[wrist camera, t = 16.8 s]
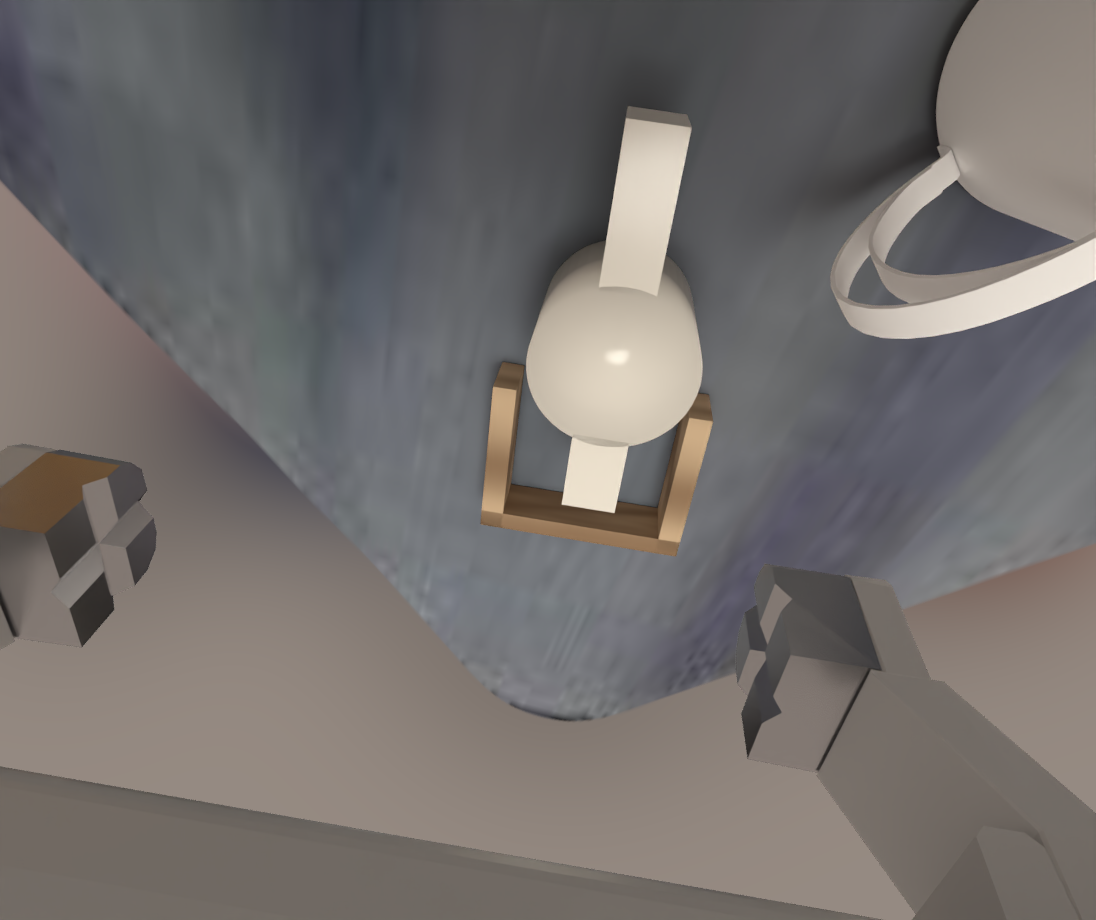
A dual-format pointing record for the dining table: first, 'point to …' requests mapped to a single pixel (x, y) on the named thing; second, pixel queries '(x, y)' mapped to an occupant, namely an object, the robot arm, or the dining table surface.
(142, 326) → the dining table surface
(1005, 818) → the robot arm
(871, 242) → the coffeepot
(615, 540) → the cradle
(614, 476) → the white bar with bulge
